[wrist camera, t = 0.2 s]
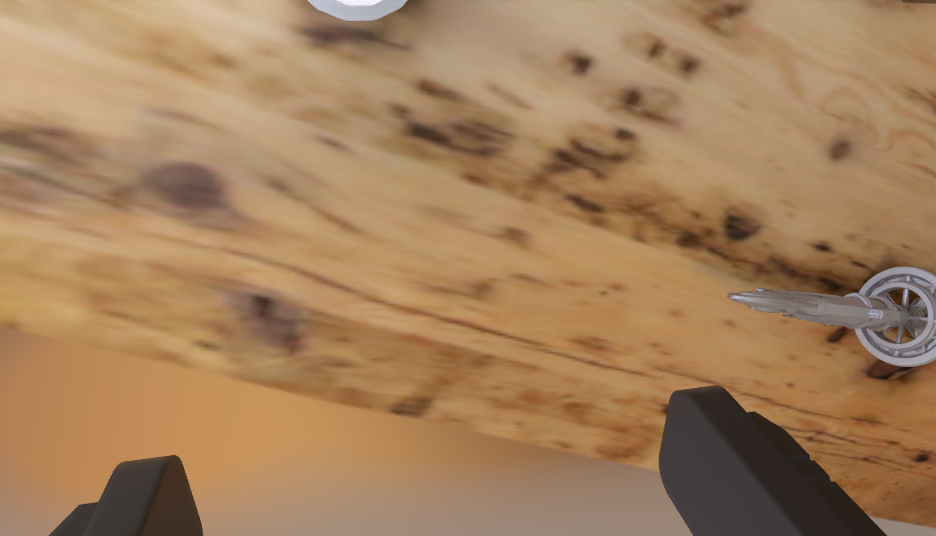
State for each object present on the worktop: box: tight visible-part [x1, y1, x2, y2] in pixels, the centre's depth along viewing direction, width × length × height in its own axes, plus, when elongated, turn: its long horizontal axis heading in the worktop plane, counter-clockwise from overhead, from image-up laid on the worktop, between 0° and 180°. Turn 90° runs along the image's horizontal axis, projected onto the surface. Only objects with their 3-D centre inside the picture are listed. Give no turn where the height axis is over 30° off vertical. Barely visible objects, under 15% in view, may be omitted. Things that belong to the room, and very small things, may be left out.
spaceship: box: [727, 266, 936, 367], centre depth 45 cm, size 8×35×8 cm
